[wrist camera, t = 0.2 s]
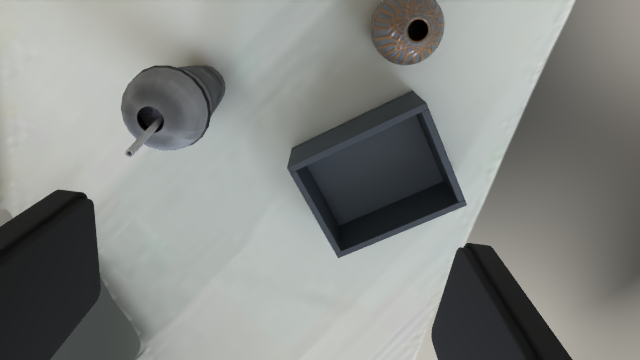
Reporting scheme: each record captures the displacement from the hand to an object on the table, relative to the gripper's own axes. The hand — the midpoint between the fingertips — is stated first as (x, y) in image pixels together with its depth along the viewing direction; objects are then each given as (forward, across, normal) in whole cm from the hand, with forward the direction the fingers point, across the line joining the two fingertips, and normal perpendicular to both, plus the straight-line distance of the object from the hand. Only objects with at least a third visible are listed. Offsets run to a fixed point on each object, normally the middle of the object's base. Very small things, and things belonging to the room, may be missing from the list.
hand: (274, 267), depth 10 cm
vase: (+37, -8, -6) cm, 39 cm away
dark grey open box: (+37, -8, +10) cm, 39 cm away
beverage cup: (+37, +12, +3) cm, 39 cm away
